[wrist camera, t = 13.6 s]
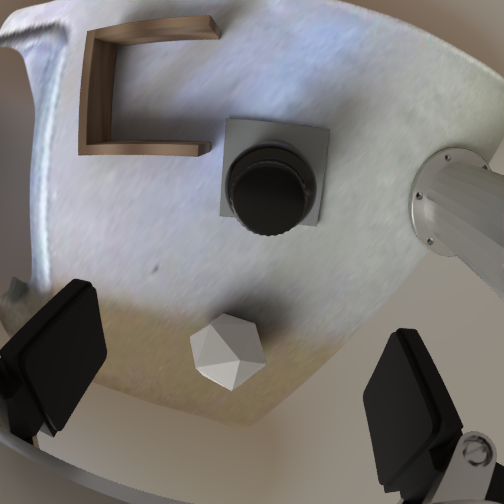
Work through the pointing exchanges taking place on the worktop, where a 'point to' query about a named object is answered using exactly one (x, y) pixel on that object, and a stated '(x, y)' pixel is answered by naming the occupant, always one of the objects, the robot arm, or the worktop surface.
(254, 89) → the worktop surface
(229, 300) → the worktop surface
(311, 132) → the pad
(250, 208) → the supplement bottle
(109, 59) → the cubby
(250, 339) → the die
